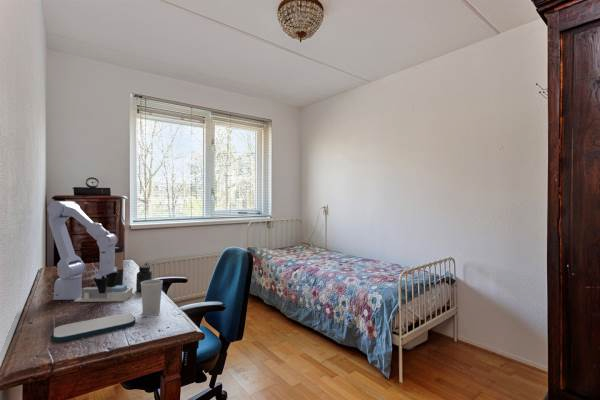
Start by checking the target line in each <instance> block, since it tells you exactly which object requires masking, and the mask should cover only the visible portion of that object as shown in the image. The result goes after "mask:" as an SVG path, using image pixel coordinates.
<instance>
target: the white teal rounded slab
mask: <svg viewBox="0 0 600 400" xmlns="http://www.w3.org/2000/svg"><path fill="white" fill-rule="evenodd" d="M135 324H136V318H135V316H134V315H133V314H132V313H130V312H126V313H125V312H124V313H118V314H113V315H107V316H102V317H98V318H92V319H87V320H81V321H77V322H71V323H66V324H62V325H59V326H56V327H55V328H53V329H52V341H53V342H55V343H63V342H68V341H72V340H78V339H81V338H82V339H83V338H87V337H91V336H95V335H96V336H97V335H100V334H103V333H104V334H105V333H110V332H113V331H119V330H122V329H126V328H127V329H128V328H131V327H133V326H134V325H135Z"/></svg>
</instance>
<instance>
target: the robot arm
mask: <svg viewBox="0 0 600 400" xmlns="http://www.w3.org/2000/svg"><path fill="white" fill-rule="evenodd" d="M46 211H47V213H48V224H49V227H50V231H51V234H52V236H53V239H54V243H55V246H56V248H57V252H58V255H59V258H60V260H59V261H58V262H57V264H56V267H57V273H56V274H57V276H58V277H59V278H57V279H56V280H55V282H54V284H53V292H54V293H53V298H52V300H53V301H58V300H59V301H60V300H62V301H64V300H68V301H70V300H71V301H72V300H76V299H78V298H80V297H81V296H82V278H83V277H82V276H83V274H84V272H85V271H86V267H87V266H86V264H85V263H84V261H83V260H82V258H81V257H80V256H79V255H77V254H76V252H75V249H74V246H73V243H72V239H71V237H70V234H69V231H68V228H67V226H66V222H67V221H68V219H69V218H70V217H73V218H74V219H75V220H76V221H78V222H79V223H80V224H81V225H83V227H85V229H86V233H88V234H89V235H90V236H91V237H92V238H93V239H94V240H96V244H97V246H98V248H99V249H98V250H99V271H98V272H97V273H96V274H95V276H94V278H93V282H95V285H96V287H98V291H99V294H100V293H105V291H106V287H107V286H106V285H107V284H108V287H114V285H115V281H116V278H117V276H118V275H119V272H117V267H114V264H115V246H117V243H118V241H119V239H118V237H117V235H116V234H115V233H112V232H110V231H109V230H107V229H106V228H104V227H103V224H102V223H99V222H95V221H93V220H92V219H91V218H90V217H89V216H88V215H87V214H86V212H84V211H83V210H82V209H81V207H80V205H79V204H77V202H76V201H74V200H53V201H51V202H50V203H49V205H48V206H47V208H46Z"/></svg>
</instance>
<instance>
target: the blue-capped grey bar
mask: <svg viewBox="0 0 600 400" xmlns="http://www.w3.org/2000/svg"><path fill="white" fill-rule="evenodd" d="M127 288H128V285H127V284H125V285H117V286H115V287H107V286H106V291H105V293H100V294H99V291H98V287H97V286H93V287H91V286H89V287H88V286H86V287H83V288H81V293H82V296H81V298H84V293H89V298H107V293H108V292H125V291H126V290H127Z"/></svg>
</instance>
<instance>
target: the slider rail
mask: <svg viewBox="0 0 600 400" xmlns="http://www.w3.org/2000/svg"><path fill="white" fill-rule="evenodd" d="M133 295H134V293H133V287H127V290H126V291H125V292H108V293H107V298H89V293H84V298H81V297H79V298H77V299H75V300H74V301H73V302H74V303H80V302H81V303H87V302H89V303H90V302H91V303H93V302H94V303H96V302H125V301H127V300H128V299H129V298H130V297H132V296H133Z"/></svg>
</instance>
